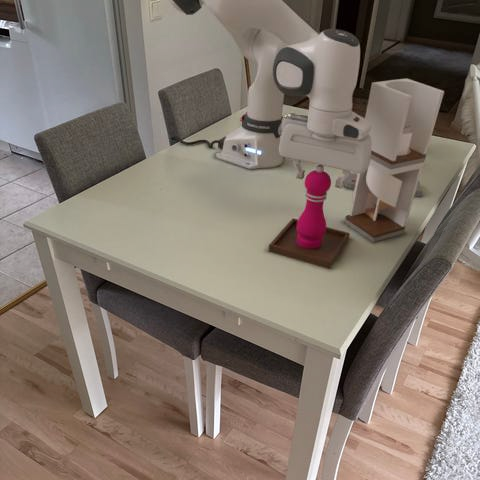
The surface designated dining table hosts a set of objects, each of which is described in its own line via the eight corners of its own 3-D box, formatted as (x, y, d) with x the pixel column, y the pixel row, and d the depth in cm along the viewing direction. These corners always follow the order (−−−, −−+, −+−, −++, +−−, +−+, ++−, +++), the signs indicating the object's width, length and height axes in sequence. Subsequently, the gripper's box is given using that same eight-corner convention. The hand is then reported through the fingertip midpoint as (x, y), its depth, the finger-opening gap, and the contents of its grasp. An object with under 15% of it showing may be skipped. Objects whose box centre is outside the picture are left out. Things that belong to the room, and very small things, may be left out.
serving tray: (268, 251, 119) (269, 244, 118) (292, 224, 130) (292, 218, 129) (329, 268, 114) (330, 262, 113) (348, 239, 125) (349, 232, 124)
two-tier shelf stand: (344, 222, 132) (372, 82, 109) (374, 214, 136) (406, 78, 114) (372, 242, 124) (408, 96, 102) (403, 233, 128) (444, 91, 106)
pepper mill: (327, 239, 123) (340, 162, 110) (318, 253, 118) (331, 174, 105) (300, 232, 125) (310, 156, 112) (290, 245, 120) (299, 167, 107)
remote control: (420, 197, 146) (422, 190, 144) (344, 188, 148) (345, 181, 147) (417, 186, 152) (419, 179, 150) (344, 177, 154) (346, 171, 153)
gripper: (277, 115, 104) (272, 177, 112) (371, 133, 97) (358, 197, 106) (288, 107, 108) (282, 168, 117) (379, 124, 102) (365, 187, 110)
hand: (319, 182), depth 111 cm, fingers open, 8 cm apart
